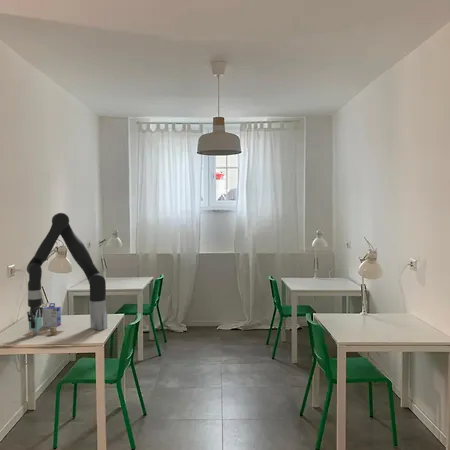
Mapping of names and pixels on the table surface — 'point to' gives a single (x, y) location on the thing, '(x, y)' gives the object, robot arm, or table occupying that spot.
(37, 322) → the aqua matte cube
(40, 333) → the board
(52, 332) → the tan block
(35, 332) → the post
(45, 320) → the ink cartridge box
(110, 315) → the table surface
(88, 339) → the table surface
